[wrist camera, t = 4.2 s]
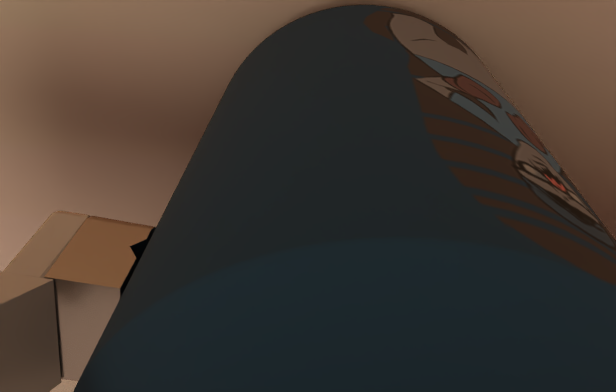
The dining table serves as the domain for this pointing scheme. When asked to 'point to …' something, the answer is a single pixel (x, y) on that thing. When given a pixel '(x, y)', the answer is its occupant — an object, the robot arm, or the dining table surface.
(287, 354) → the soda can
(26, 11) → the dining table surface
